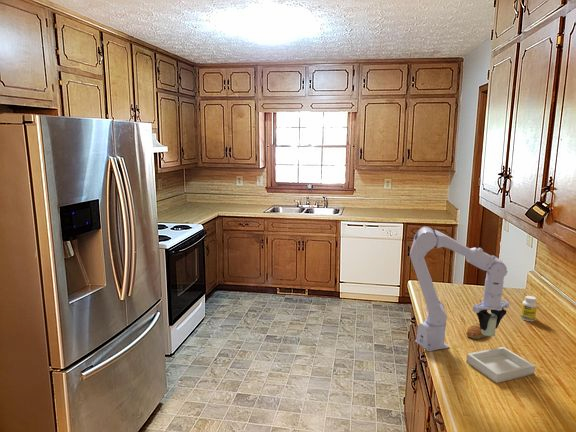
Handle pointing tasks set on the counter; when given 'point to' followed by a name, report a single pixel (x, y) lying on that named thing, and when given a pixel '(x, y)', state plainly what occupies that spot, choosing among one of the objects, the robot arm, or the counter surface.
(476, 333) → the pastry
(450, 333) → the counter surface
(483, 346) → the counter surface
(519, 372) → the bin
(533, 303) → the supplement bottle
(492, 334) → the tin
